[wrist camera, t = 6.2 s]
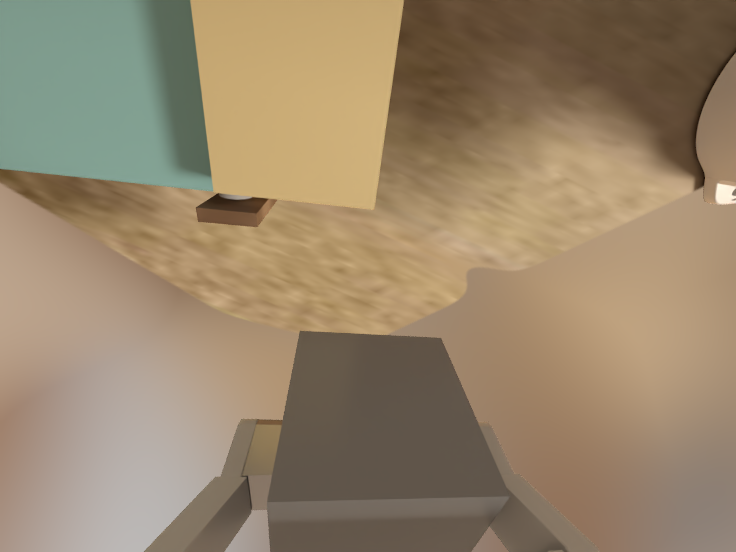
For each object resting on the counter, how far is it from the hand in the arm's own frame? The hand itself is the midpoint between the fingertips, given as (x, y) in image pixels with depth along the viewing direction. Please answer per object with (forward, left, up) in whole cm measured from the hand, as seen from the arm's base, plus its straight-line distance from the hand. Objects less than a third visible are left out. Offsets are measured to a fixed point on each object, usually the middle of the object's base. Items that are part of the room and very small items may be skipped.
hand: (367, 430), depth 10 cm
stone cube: (0, 0, -2) cm, 2 cm away
